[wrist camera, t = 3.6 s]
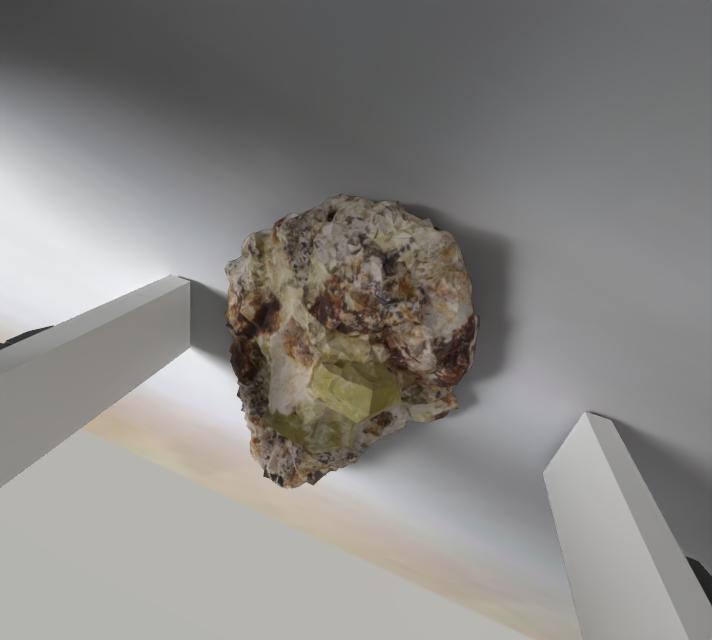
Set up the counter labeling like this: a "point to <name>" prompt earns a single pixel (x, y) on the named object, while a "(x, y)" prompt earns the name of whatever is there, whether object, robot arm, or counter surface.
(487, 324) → the counter surface
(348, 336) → the mineral rock
